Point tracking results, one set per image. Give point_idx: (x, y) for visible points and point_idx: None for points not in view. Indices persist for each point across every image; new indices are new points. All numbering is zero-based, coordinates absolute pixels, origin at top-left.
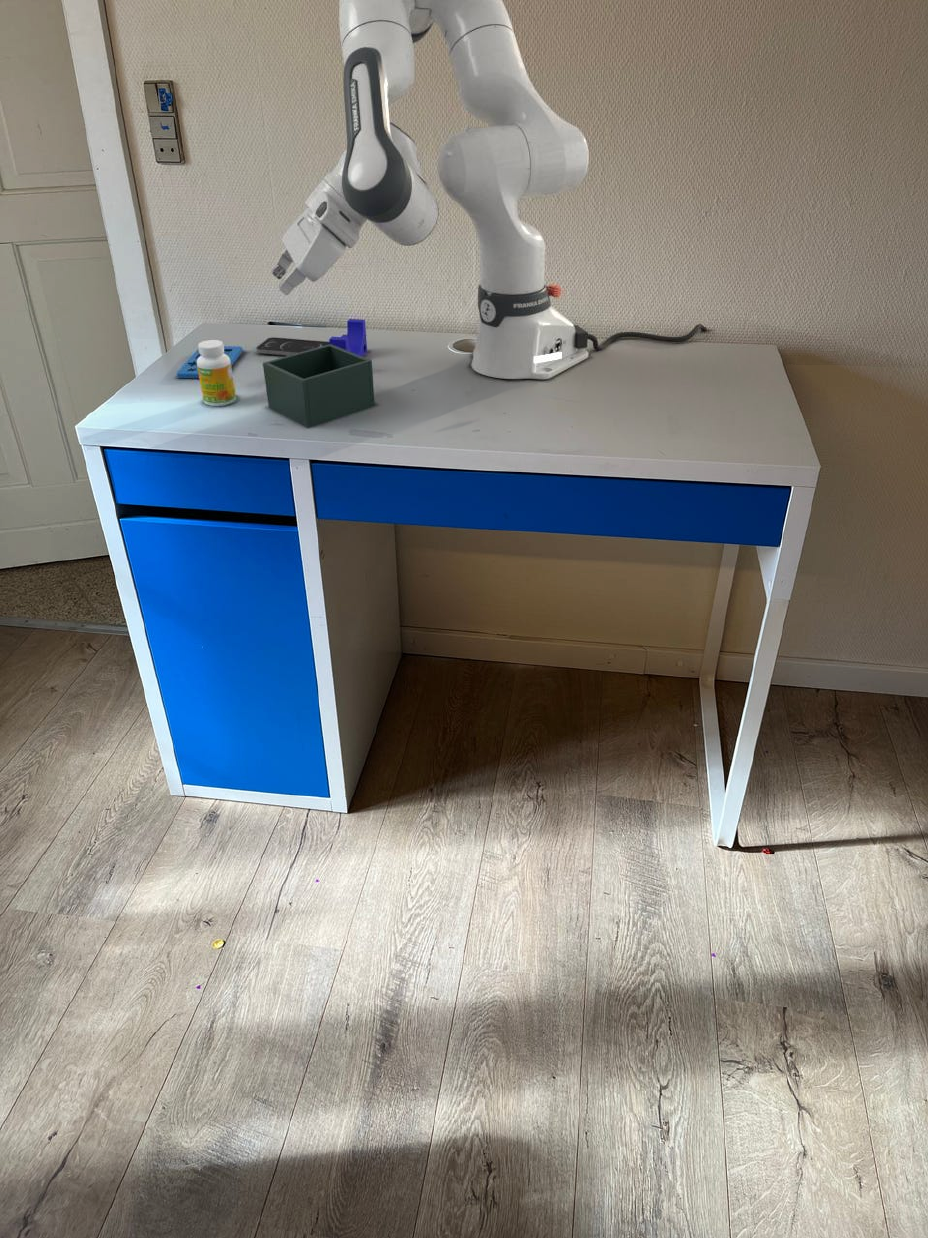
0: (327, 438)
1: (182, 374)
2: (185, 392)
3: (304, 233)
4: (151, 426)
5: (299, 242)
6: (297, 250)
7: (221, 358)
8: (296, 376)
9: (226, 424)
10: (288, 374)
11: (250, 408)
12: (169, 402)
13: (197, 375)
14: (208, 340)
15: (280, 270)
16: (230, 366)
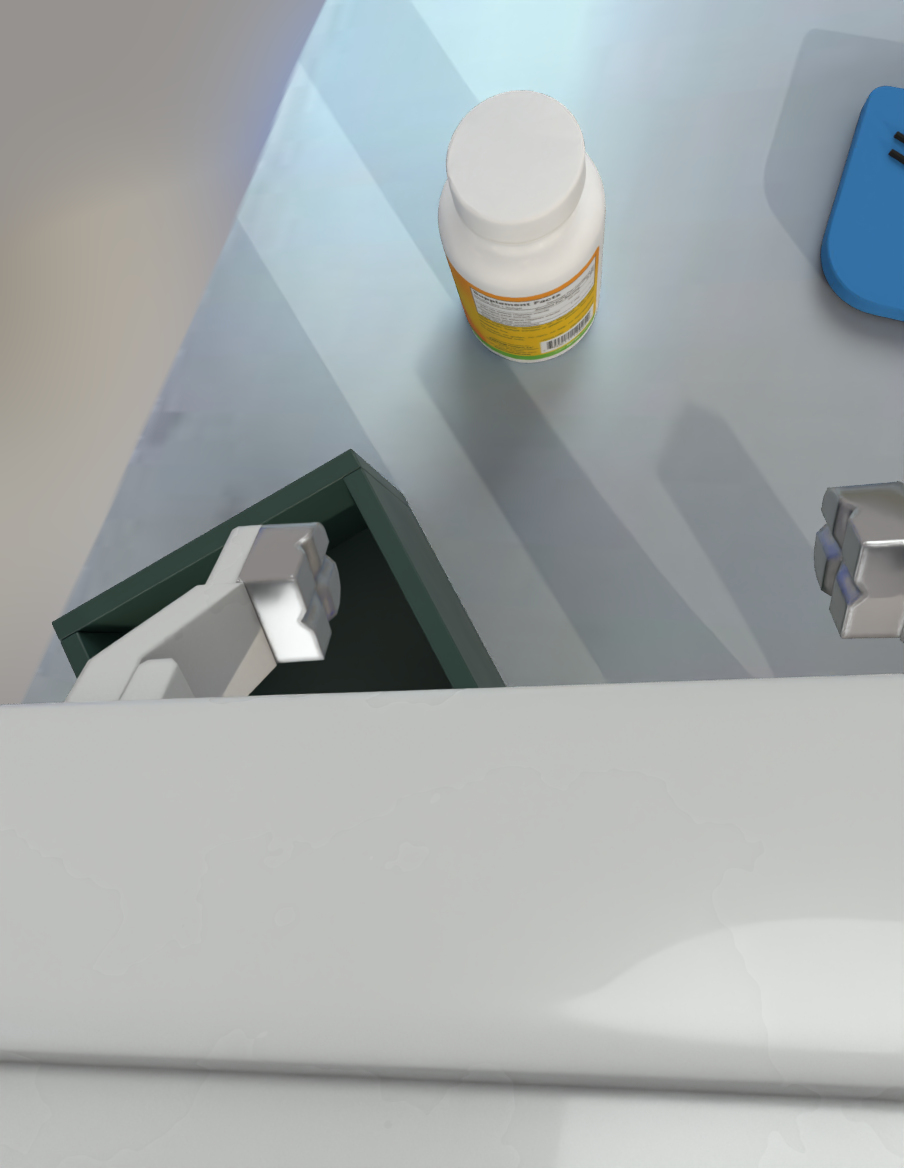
0: (57, 687)
1: (862, 115)
2: (672, 155)
3: (649, 1094)
4: (340, 67)
5: (379, 889)
6: (181, 797)
7: (473, 242)
8: (115, 600)
9: (282, 333)
10: (153, 565)
11: (416, 422)
12: (570, 103)
13: (840, 184)
14: (575, 139)
15: (849, 575)
16: (499, 302)
